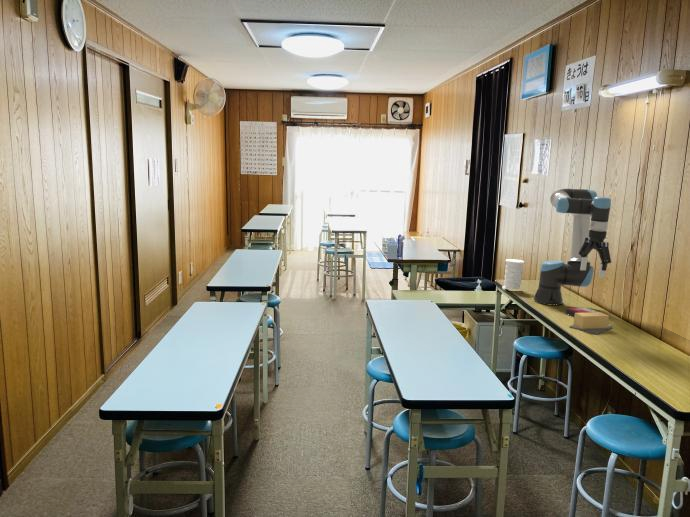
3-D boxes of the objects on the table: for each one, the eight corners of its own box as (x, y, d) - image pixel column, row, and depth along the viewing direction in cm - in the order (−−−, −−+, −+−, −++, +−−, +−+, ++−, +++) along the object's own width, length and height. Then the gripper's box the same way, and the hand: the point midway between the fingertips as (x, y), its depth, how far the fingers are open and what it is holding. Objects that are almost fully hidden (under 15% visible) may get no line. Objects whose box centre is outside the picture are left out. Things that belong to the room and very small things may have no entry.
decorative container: (525, 292, 323) (528, 262, 320) (506, 291, 322) (510, 262, 318) (516, 287, 335) (519, 259, 331) (498, 287, 333) (501, 258, 330)
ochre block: (583, 316, 249) (608, 315, 253) (574, 312, 255) (600, 312, 258) (581, 328, 250) (607, 328, 254) (573, 324, 256) (598, 324, 259)
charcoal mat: (585, 321, 266) (585, 320, 265) (612, 328, 256) (612, 326, 256) (569, 327, 254) (569, 326, 254) (597, 334, 245) (597, 333, 245)
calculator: (582, 306, 282) (605, 312, 268) (581, 314, 282) (605, 321, 268) (566, 307, 277) (589, 314, 264) (565, 315, 278) (588, 322, 264)
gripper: (574, 225, 266) (569, 267, 270) (609, 234, 242) (602, 280, 247) (587, 225, 268) (582, 267, 272) (623, 234, 244) (616, 279, 248)
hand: (592, 273), depth 259 cm, fingers open, 13 cm apart
